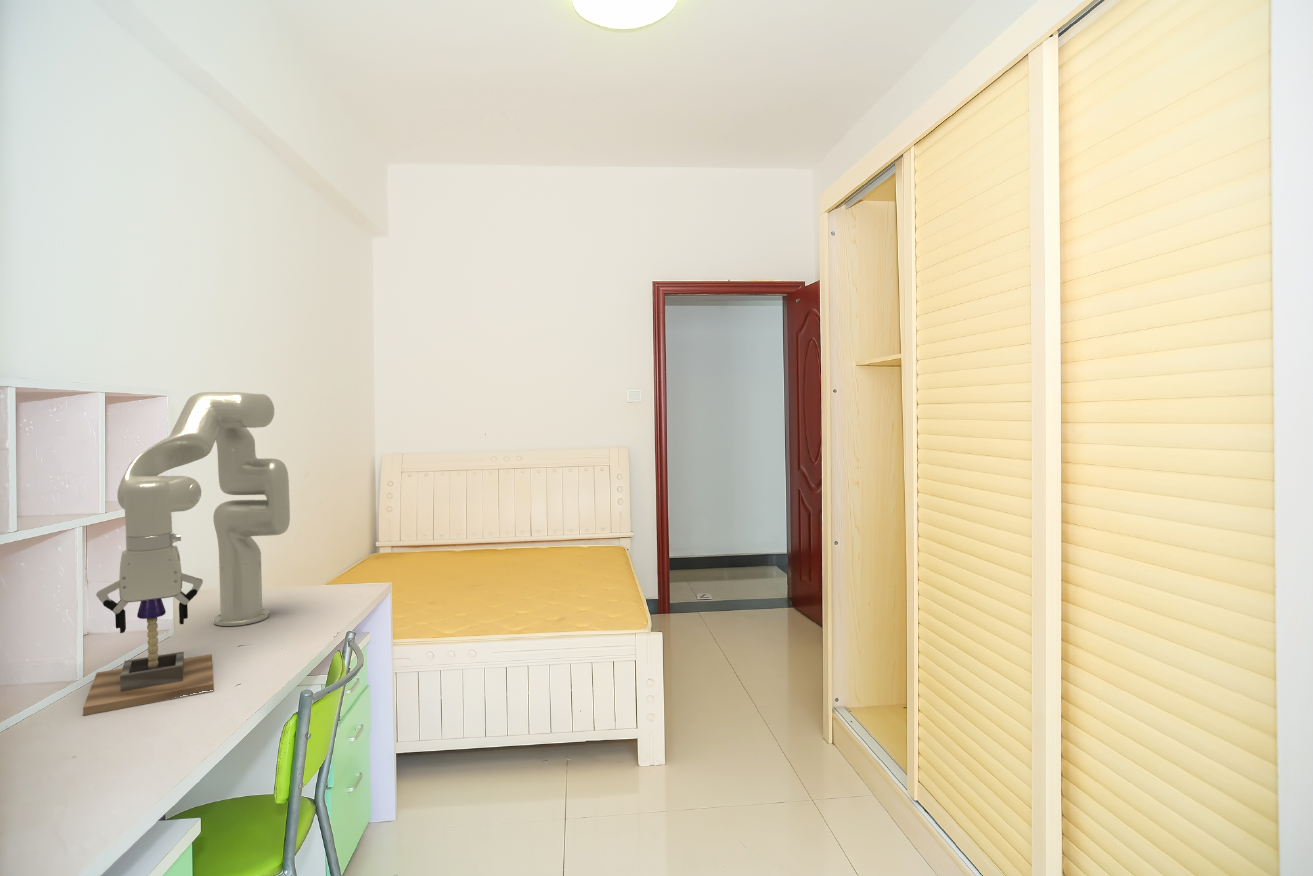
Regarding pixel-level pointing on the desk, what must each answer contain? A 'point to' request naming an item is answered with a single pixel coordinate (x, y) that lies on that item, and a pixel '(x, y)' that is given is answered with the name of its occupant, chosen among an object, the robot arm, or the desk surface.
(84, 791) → the desk surface
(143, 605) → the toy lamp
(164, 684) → the socket board
